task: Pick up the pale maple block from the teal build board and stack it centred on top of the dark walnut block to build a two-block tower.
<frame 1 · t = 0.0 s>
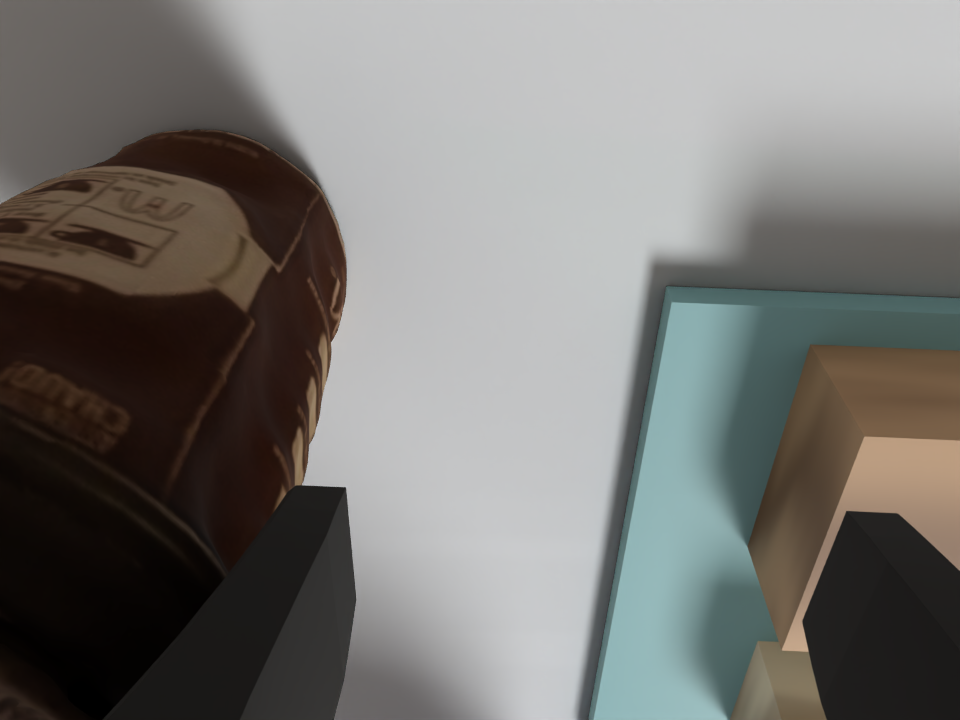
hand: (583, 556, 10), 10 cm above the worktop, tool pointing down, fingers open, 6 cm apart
coffee cup: (220, 245, 19), on the worktop, touching gripper
maple block: (809, 686, 26), point 1 cm above the worktop, touching build board
build board: (843, 566, 24), on the worktop
walnut block: (908, 460, 21), point 1 cm above the worktop, touching build board
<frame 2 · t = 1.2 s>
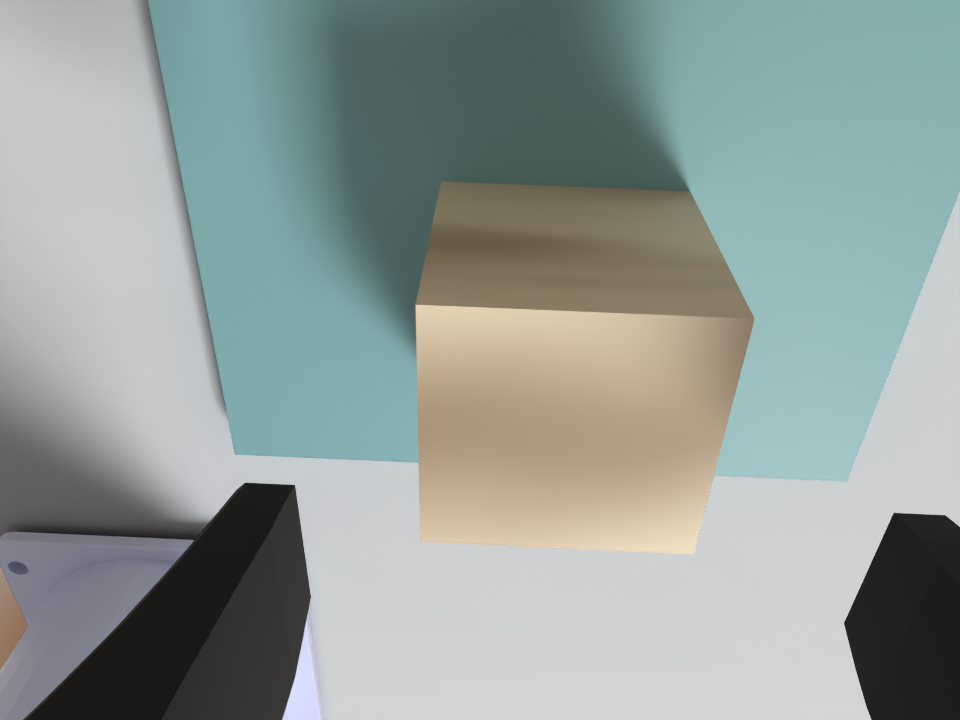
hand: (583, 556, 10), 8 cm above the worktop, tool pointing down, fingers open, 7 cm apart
maple block: (555, 295, 15), point 1 cm above the worktop, touching build board
build board: (577, 14, 13), on the worktop
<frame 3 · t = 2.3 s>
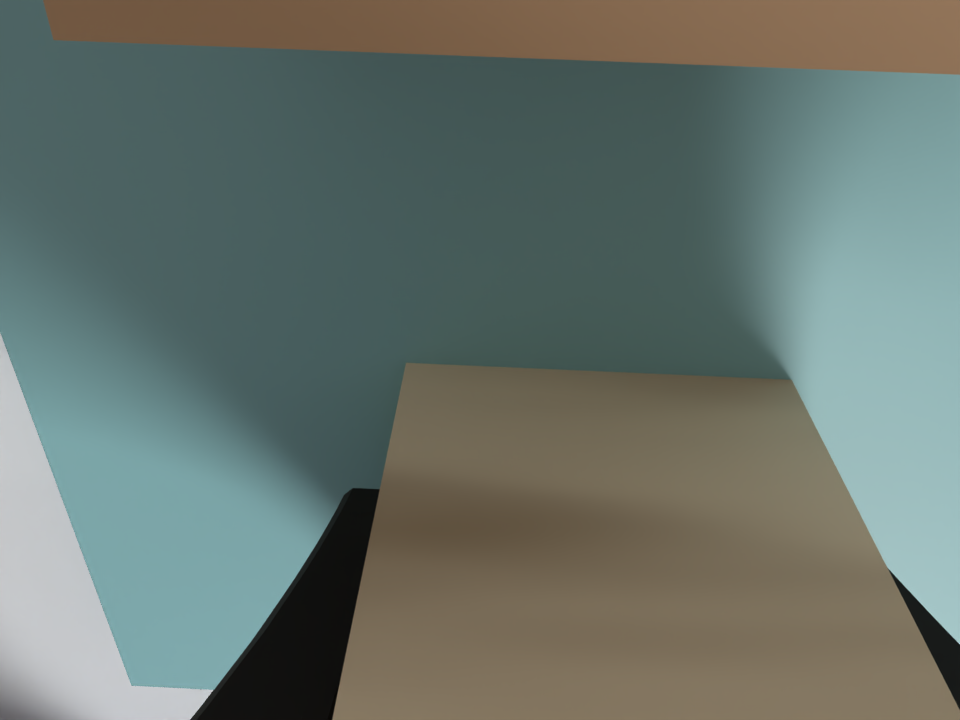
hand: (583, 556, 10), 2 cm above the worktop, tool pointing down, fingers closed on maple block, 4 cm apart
maple block: (579, 510, 10), point 1 cm above the worktop, touching build board, gripper
build board: (620, 114, 8), on the worktop
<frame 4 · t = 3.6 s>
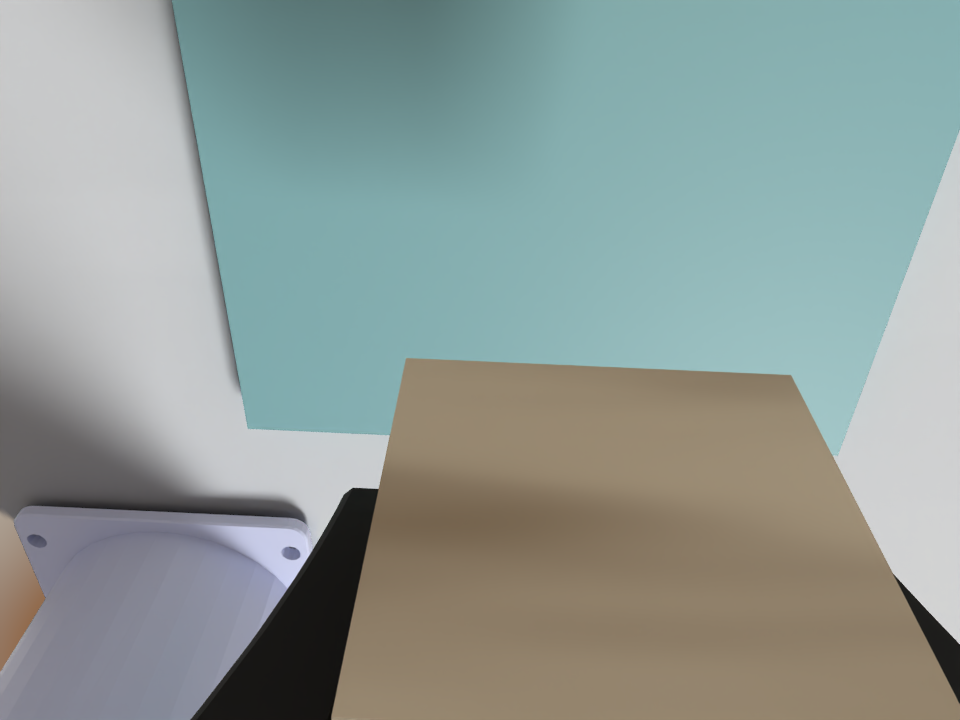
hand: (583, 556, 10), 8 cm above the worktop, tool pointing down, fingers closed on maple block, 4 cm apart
maple block: (578, 505, 10), point 8 cm above the worktop, touching gripper
build board: (578, 1, 14), on the worktop
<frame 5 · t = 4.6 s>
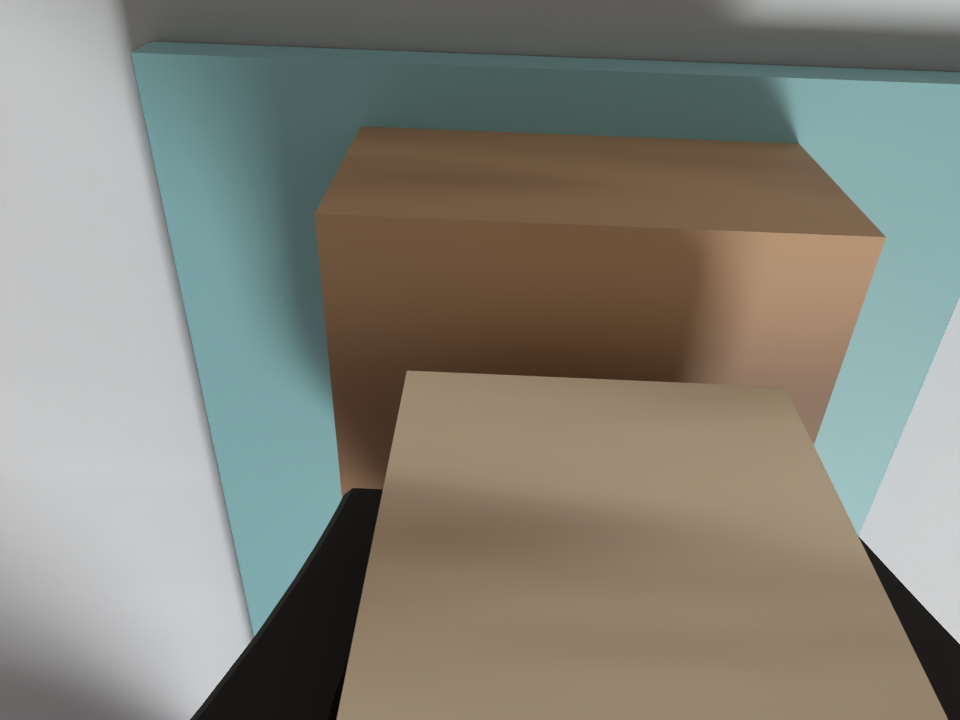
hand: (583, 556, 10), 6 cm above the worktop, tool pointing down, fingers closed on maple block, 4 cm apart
maple block: (577, 514, 11), point 6 cm above the worktop, touching gripper
build board: (539, 491, 18), on the worktop
walnut block: (560, 322, 14), point 1 cm above the worktop, touching build board
when the fingers open (6 cm above the worktop, at t = 5.1 s): maple block stays where it is, resting on walnut block.
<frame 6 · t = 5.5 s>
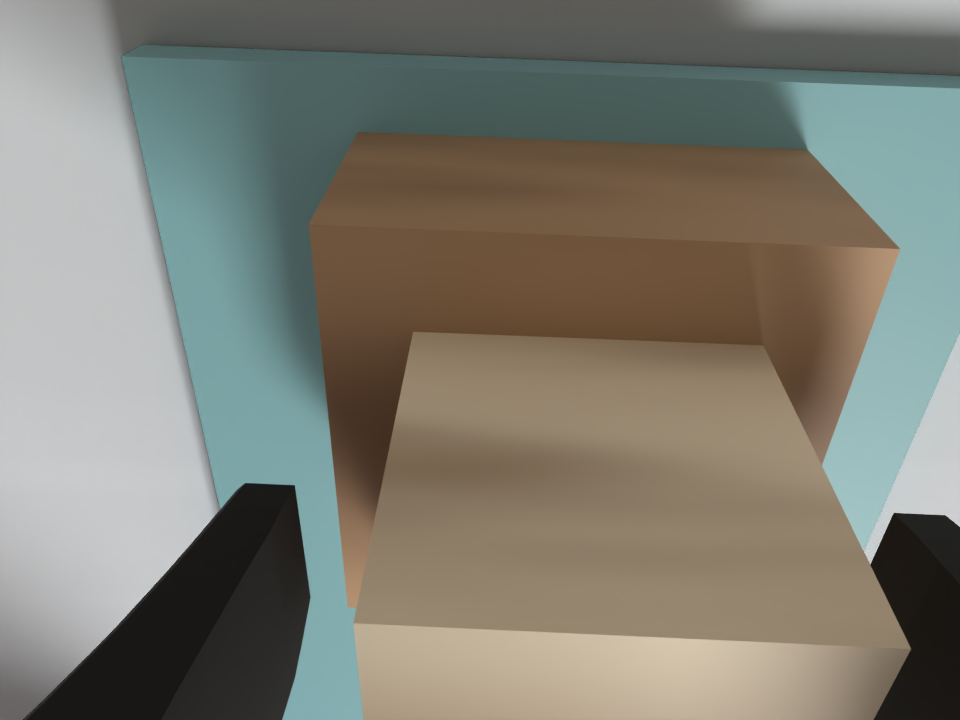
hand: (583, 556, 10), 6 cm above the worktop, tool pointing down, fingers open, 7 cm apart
maple block: (571, 469, 11), point 4 cm above the worktop, touching walnut block
build board: (541, 501, 18), on the worktop
walnut block: (562, 331, 14), point 1 cm above the worktop, touching build board, maple block
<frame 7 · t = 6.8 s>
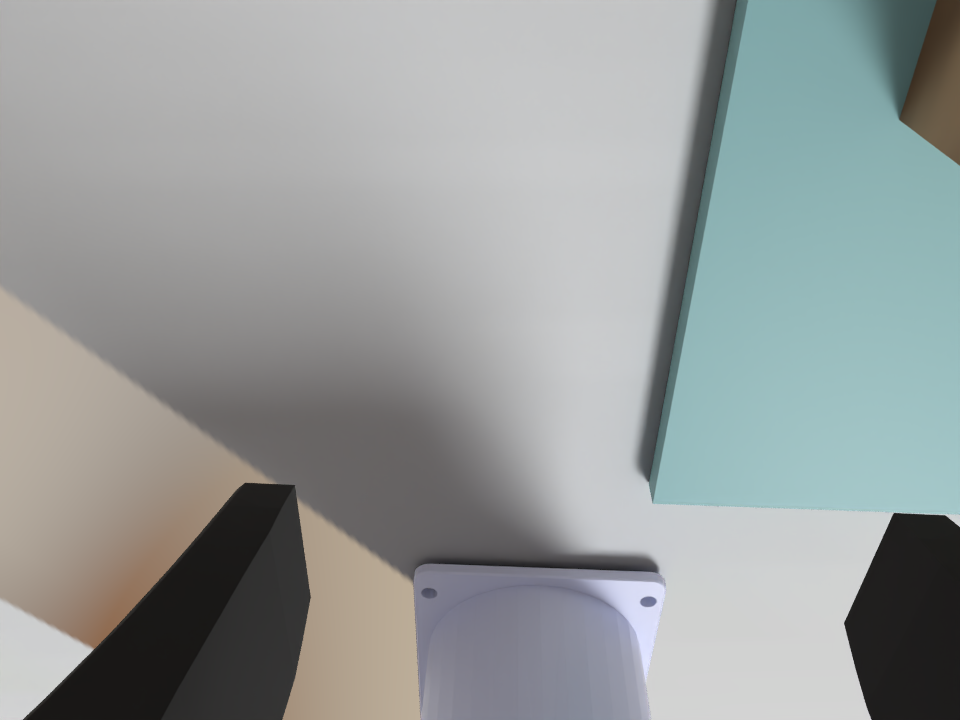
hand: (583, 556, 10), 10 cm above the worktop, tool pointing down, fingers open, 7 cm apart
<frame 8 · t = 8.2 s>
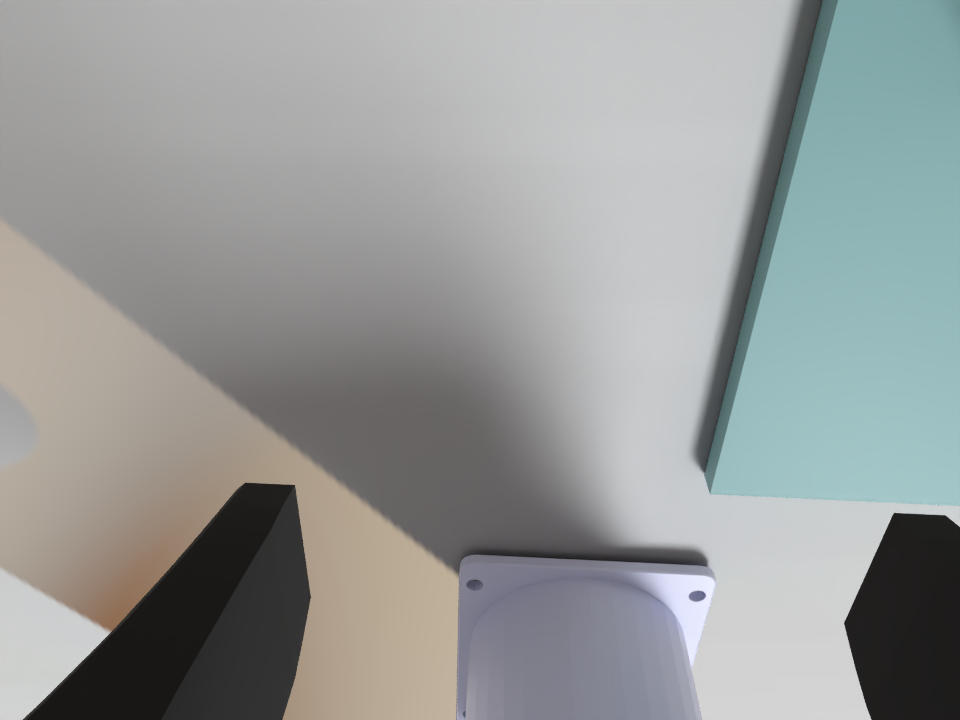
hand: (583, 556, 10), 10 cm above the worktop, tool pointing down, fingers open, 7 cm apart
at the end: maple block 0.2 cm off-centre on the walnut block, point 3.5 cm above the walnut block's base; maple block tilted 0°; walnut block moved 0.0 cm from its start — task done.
